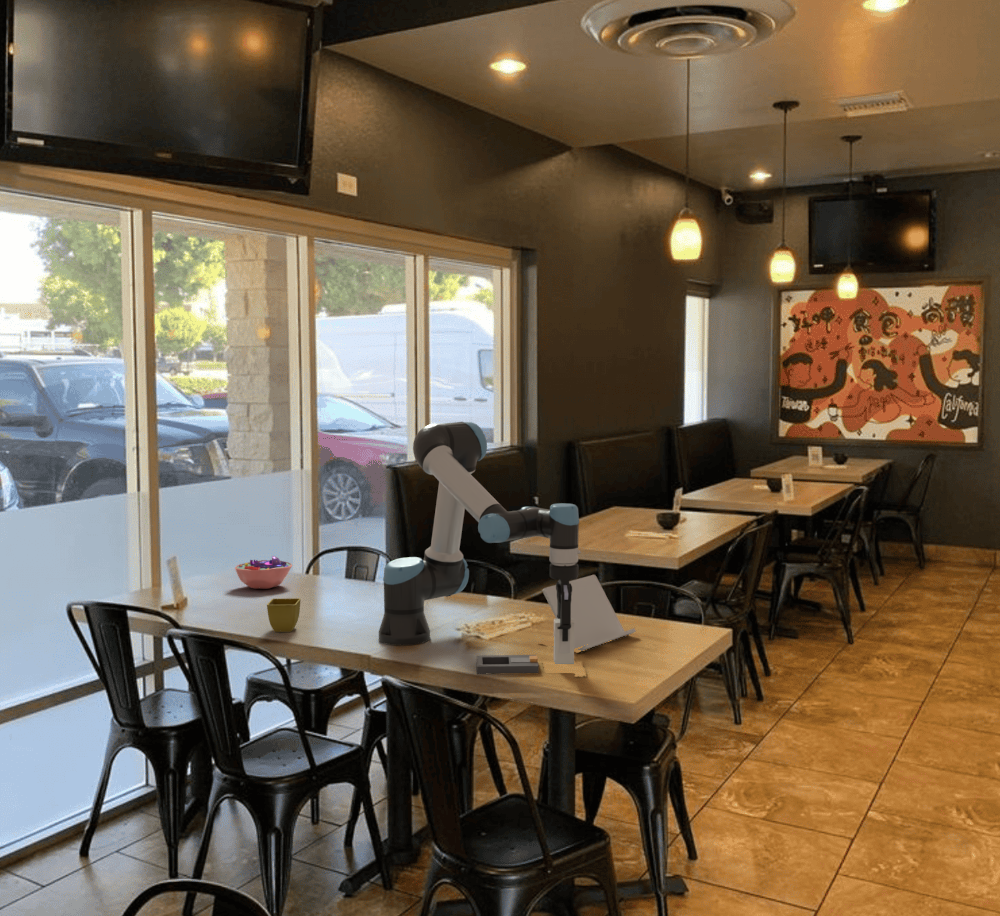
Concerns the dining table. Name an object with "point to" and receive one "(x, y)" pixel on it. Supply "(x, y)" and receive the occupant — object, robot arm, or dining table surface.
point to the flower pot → (283, 614)
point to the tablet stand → (589, 613)
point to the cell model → (263, 573)
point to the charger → (558, 657)
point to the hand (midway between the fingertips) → (563, 649)
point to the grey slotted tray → (507, 664)
